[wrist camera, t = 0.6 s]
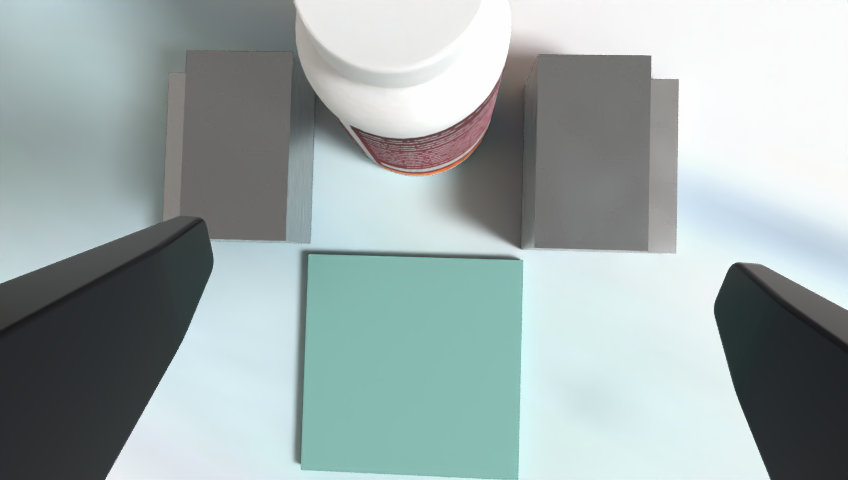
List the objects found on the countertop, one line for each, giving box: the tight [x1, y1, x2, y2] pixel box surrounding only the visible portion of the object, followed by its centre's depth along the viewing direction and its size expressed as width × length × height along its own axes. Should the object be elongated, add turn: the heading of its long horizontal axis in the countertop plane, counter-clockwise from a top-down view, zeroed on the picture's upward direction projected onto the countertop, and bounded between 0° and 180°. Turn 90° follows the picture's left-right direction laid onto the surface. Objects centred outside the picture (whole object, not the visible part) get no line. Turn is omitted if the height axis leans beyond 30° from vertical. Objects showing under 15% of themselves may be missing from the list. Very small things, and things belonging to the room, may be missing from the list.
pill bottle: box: [293, 0, 511, 177], centre depth 18 cm, size 6×6×11 cm
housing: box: [162, 50, 679, 254], centre depth 21 cm, size 7×21×4 cm, turn 88°
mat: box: [301, 254, 523, 480], centre depth 23 cm, size 9×9×1 cm
